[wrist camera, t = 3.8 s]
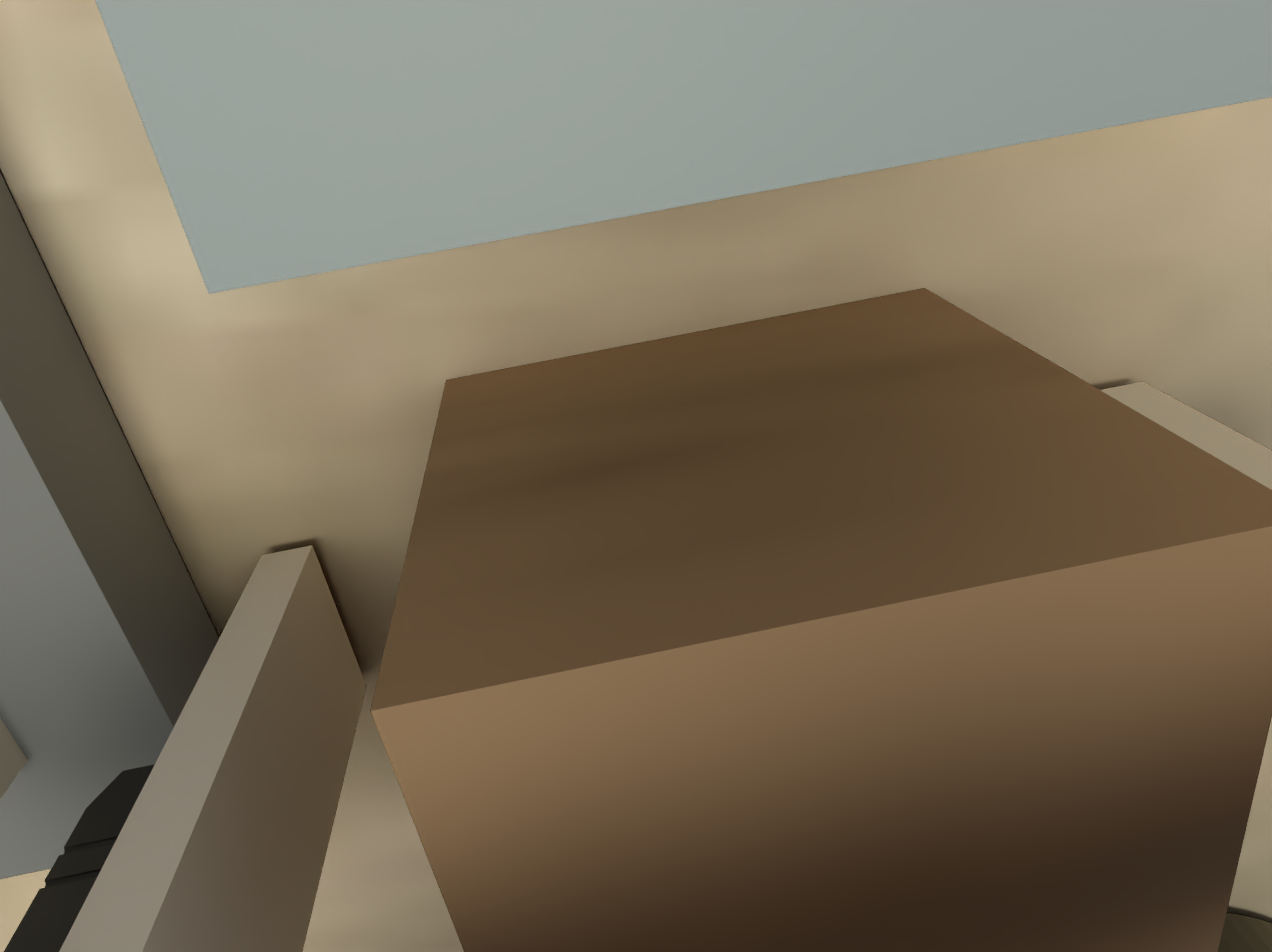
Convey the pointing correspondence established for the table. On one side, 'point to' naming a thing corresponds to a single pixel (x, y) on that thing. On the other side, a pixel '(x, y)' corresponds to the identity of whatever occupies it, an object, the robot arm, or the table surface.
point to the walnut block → (827, 649)
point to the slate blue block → (615, 105)
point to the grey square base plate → (75, 579)
